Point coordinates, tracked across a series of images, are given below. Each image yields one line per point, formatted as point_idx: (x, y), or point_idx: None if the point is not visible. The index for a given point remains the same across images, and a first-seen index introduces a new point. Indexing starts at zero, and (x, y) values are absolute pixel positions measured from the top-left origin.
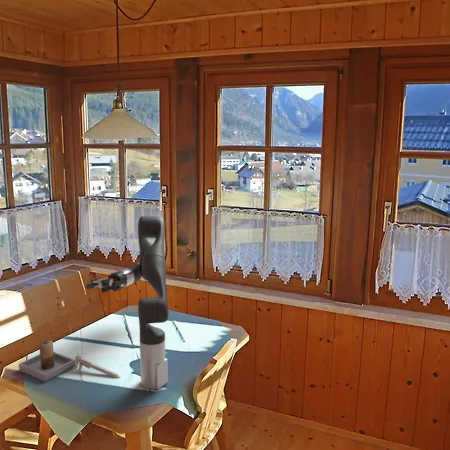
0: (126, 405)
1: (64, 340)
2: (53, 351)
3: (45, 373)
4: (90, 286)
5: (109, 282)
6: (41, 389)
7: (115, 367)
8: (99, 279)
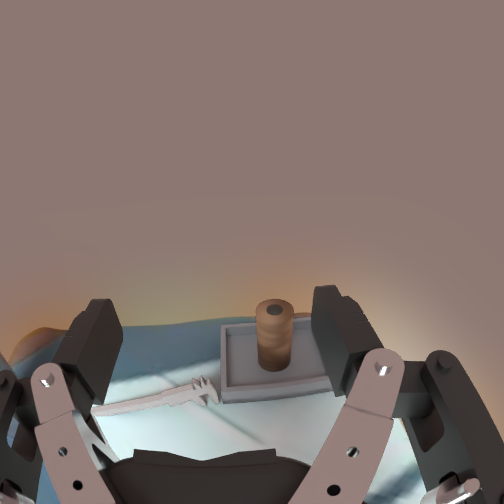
0: (46, 351)
1: (409, 455)
2: (263, 342)
3: (226, 326)
4: (324, 335)
5: (71, 414)
6: (209, 323)
7: (123, 447)
8: (376, 430)
